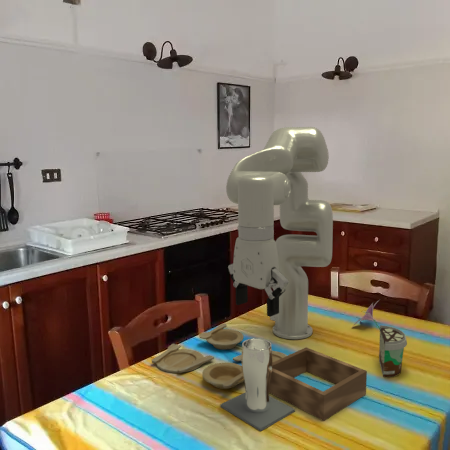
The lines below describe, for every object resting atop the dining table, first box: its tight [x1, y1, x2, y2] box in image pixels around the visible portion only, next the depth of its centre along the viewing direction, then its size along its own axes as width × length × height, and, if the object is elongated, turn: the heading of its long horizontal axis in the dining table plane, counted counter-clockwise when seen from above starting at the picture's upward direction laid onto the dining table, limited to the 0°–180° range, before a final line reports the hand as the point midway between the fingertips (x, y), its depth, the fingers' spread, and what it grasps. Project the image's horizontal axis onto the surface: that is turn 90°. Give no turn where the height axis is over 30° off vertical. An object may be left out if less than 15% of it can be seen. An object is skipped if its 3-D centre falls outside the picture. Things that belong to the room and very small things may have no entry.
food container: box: [378, 325, 408, 378], centre depth 126 cm, size 12×6×10 cm, turn 168°
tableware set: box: [151, 323, 291, 390], centre depth 133 cm, size 35×29×4 cm
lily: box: [352, 299, 380, 331], centre depth 155 cm, size 12×12×10 cm
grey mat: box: [220, 392, 296, 432], centre depth 109 cm, size 13×11×1 cm
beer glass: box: [240, 337, 273, 413], centre depth 108 cm, size 7×7×15 cm
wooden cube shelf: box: [269, 346, 368, 422], centre depth 116 cm, size 18×16×6 cm
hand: (256, 309), depth 106 cm, fingers open, 9 cm apart
